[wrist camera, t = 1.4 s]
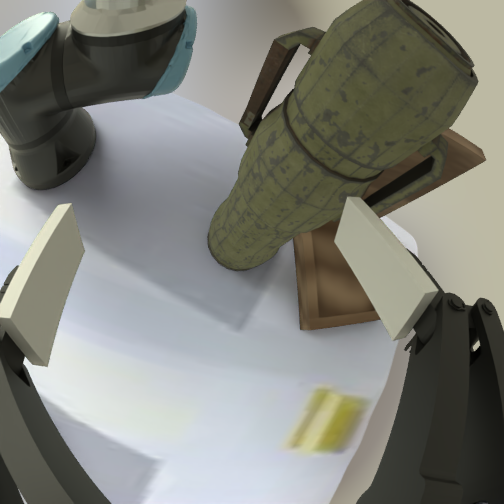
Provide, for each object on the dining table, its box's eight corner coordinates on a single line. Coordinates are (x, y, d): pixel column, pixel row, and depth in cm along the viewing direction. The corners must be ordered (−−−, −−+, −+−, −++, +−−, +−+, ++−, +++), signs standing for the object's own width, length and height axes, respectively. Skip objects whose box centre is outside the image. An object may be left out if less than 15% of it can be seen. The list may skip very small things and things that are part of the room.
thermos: (218, 193, 40) (343, -45, 8) (286, 237, 42) (498, 83, 9) (184, 243, 37) (281, -49, 4) (258, 289, 38) (534, 174, 6)
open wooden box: (290, 210, 43) (407, 105, 19) (365, 216, 47) (481, 149, 23) (300, 329, 39) (460, 326, 15) (377, 318, 43) (517, 300, 19)
